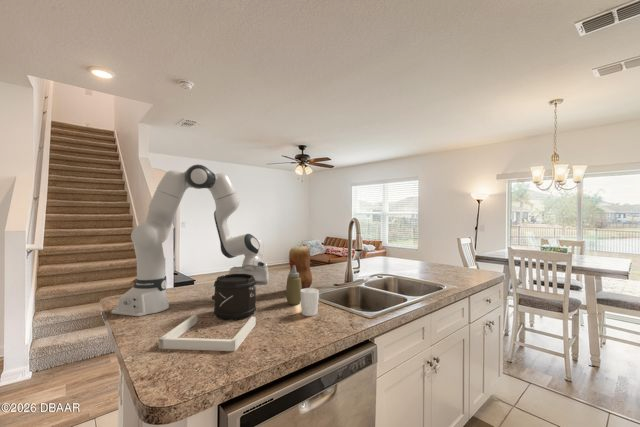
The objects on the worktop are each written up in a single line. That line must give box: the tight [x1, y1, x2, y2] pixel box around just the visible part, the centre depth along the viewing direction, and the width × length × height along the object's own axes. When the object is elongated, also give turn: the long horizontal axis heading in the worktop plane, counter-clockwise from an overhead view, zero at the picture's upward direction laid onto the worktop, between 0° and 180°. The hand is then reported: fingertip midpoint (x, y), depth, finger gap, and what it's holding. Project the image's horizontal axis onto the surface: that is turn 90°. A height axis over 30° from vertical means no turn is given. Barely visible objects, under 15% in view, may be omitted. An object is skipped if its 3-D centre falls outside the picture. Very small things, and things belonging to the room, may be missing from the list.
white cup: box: [300, 287, 320, 317], centre depth 129 cm, size 8×8×10 cm
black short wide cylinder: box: [211, 273, 257, 321], centre depth 128 cm, size 18×18×16 cm
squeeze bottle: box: [285, 265, 302, 306], centre depth 143 cm, size 8×8×18 cm
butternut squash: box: [286, 245, 313, 289], centre depth 164 cm, size 14×13×25 cm
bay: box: [158, 314, 257, 352], centre depth 106 cm, size 25×22×3 cm
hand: (244, 291), depth 142 cm, fingers closed
